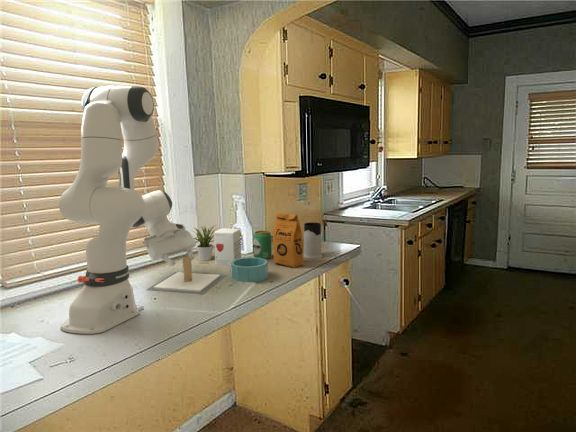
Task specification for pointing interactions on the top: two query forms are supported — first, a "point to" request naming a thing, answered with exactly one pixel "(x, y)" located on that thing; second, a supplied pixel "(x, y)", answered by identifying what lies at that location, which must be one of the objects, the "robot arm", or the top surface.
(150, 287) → the rubber mat
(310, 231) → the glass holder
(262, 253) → the beverage can
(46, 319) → the top surface
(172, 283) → the peg on square base
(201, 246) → the house plant
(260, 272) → the bowl
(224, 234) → the supplement box
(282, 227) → the coffee package
